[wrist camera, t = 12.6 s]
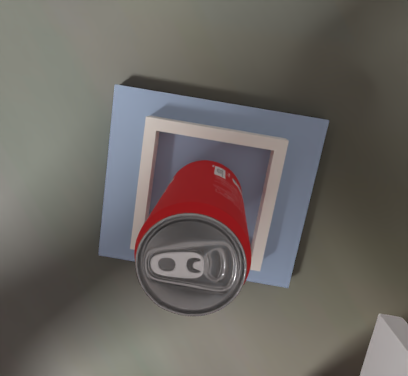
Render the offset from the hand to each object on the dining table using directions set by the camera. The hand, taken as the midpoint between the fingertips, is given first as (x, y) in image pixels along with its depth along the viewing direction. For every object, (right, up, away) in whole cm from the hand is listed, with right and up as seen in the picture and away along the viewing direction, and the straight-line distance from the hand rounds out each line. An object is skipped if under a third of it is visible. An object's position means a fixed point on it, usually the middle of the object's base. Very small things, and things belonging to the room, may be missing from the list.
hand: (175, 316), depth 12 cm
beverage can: (+1, +4, +15) cm, 16 cm away
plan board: (+1, +4, +16) cm, 17 cm away
